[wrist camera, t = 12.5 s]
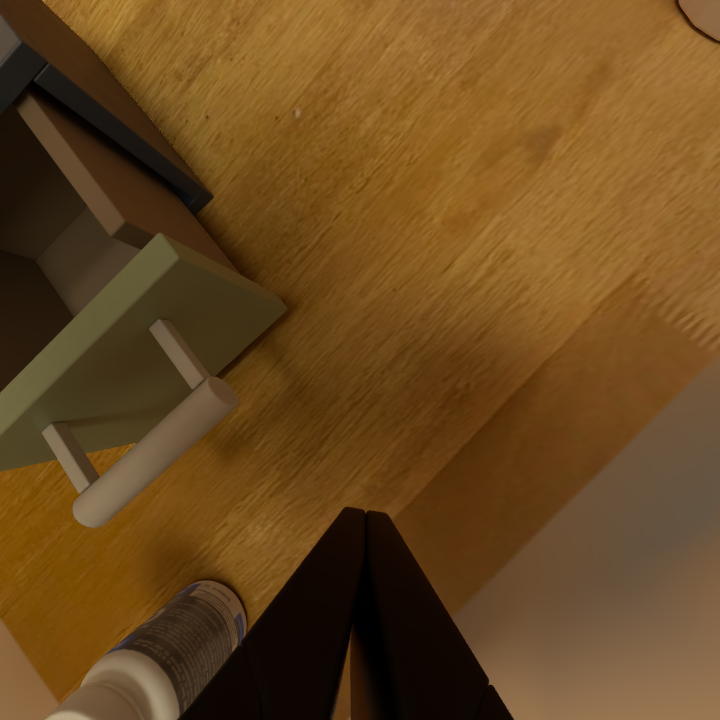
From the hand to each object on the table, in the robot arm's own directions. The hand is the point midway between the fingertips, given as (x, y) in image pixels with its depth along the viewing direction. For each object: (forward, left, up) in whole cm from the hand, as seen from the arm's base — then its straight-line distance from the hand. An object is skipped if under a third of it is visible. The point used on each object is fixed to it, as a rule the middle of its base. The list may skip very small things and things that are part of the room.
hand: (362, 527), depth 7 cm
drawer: (+11, +11, -12) cm, 19 cm away
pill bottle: (-6, +14, -13) cm, 20 cm away
